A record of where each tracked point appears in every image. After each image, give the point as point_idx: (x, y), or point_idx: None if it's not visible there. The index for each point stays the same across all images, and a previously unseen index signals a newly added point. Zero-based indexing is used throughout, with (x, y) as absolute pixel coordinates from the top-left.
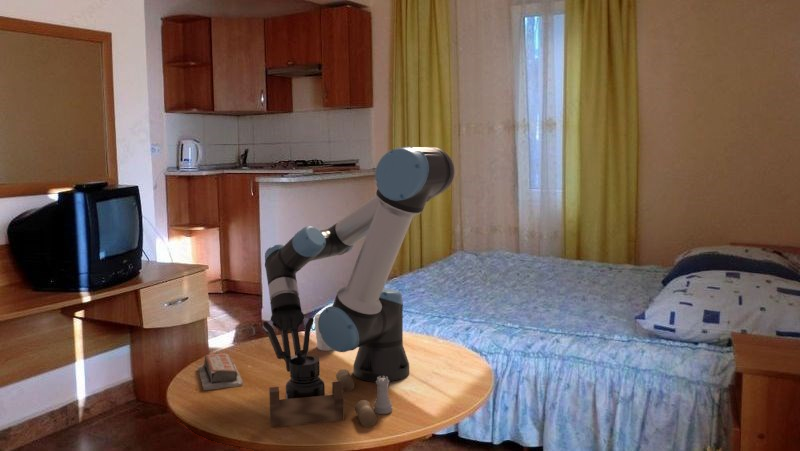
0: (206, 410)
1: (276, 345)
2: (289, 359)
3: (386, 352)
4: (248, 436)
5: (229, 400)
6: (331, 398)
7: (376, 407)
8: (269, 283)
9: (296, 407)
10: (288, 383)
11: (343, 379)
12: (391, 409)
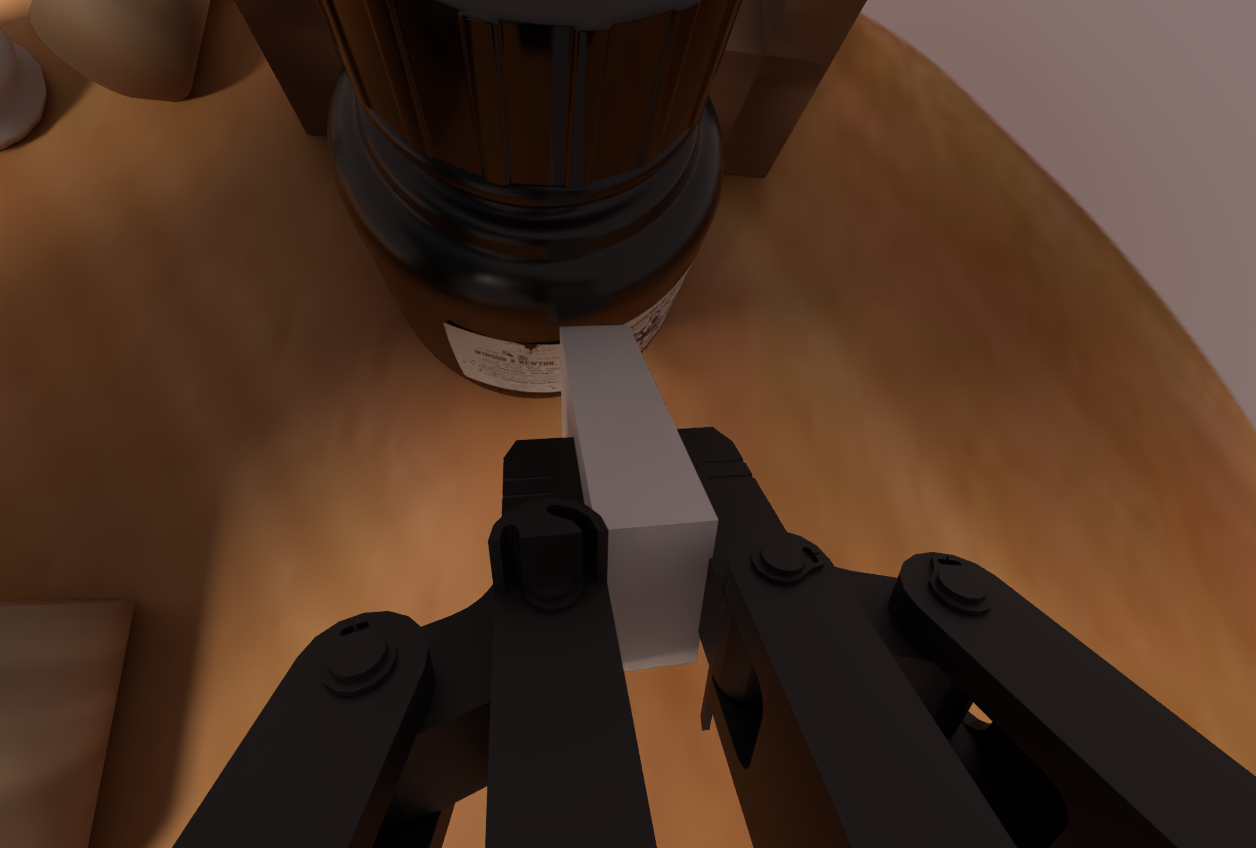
0: (1155, 464)
1: (1187, 764)
2: (723, 524)
3: None
4: (865, 54)
5: (1059, 616)
6: None
7: (4, 35)
8: None
9: None
10: (706, 114)
11: (22, 607)
12: None
